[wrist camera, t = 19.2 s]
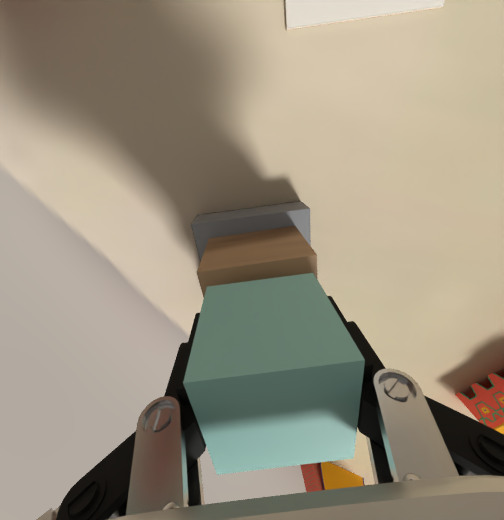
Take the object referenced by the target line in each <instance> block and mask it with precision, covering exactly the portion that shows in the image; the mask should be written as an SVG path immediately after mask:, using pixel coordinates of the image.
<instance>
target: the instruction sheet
mask: <svg viewBox="0 0 504 520" xmlns="http://www.w3.org/2000/svg"><path fill="white" fill-rule="evenodd" d="M443 6H444V0H285V9H286V30H289V29H296V28H303V27H310V26H317V25H324V24H331V23H338V22H345V21H352V20H359V19H366V18H373V17H380V16H386V15H393V14H400V13H407V12H414V11H421V10H428V9H435V8H441V7H443Z"/></svg>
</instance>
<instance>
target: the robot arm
mask: <svg viewBox="0 0 504 520" xmlns="http://www.w3.org/2000/svg"><path fill="white" fill-rule="evenodd" d="M327 297H328V299H329V300H330V302H331V304H332V305H333V307H334V309H335V310H336V312H337V314H338V315H339V317H340V319H341V320H342V322H343V324H344V326H345V327H346V329H347V331H348V332H349V334H350V336H351V337H352V339H353V341H354V342H355V344H356V346H357V348H358V349H359V351H360V353H361V354H362V356H363V358H364V359H365V364H364V373H363V382H362V390H361V399H360V407H359V416H358V425H357V427H358V429H359V431H360V432H361V433H362V434H364V435H365V436H366V438H367V443H368V449H369V454H370V460H371V465H372V470H373V476H374V481H375V484H374V485H365V486H356V487H348V488H339V489H330V490H322V491H313V492H305V493H296V494H288V495H280V496H271V497H263V498H254V499H247V500H238V501H230V502H222V503H214V504H206V505H205V504H204V494H203V484H202V475H201V464H200V456H201V454H203V452H204V451H205V448H206V443H205V440H204V438H203V435H202V432H201V430H200V427H199V424H198V422H197V419H196V416H195V414H194V411H193V408H192V406H191V403H190V400H189V397H188V395H187V392H186V389H185V387H184V384H183V381H184V377H185V373H186V369H187V365H188V361H189V357H190V353H191V349H192V345H193V341H194V337H195V333H196V329H197V325H198V321H199V316H200V313H196V315H195V319H194V323H193V326H192V330H191V334H190V337H189V341H188V342H187V343H182V344H181V345H180V347H179V350H178V354H177V357H176V360H175V363H174V367H173V370H172V373H171V376H170V379H169V383H168V386H167V389H166V393H165V396H164V397H160V398H158V399H156V400H154V401H152V402H151V403H150V404H149V405H147V406H146V408H145V409H144V410H143V411H142V413H141V415H140V417H139V419H138V423H137V429H136V432H134V433H133V434H132V435H131V436H130V437H128V438H127V439H126V440H125V441H124V442H123V443H121V444H120V445H119V446H118V447H117V448H116V449H115V450H113V451H112V452H111V453H110V454H109V455H108V456H106V458H104V459H103V460H102V461H101V462H100V463H98V464H97V465H96V466H95V467H94V468H93V469H92V470H90V471H89V472H88V473H87V474H86V475H85V476H84V477H82V478H81V479H80V480H79V481H78V482H77V483H76V484H75V485H74V486H73V487H72V488H71V489H70V491H69V492H68V493H67V495H66V496H65V498H64V499H63V501H62V503H61V505H60V506H59V507H58V508H57V509H56V510H53V509H52V508H51V509H50V510H48V511H47V512H46V513H44V514H43V515H42V516H41V517H39V518H38V519H37V520H504V435H503V434H501V433H500V432H498V431H496V430H494V429H492V428H490V427H488V426H486V425H484V424H482V423H480V422H478V421H476V420H474V419H472V418H470V417H468V416H465V415H463V414H461V413H459V412H457V411H455V410H453V409H451V408H449V407H447V406H445V405H443V404H441V403H439V402H436V401H434V400H432V399H430V398H428V397H426V396H424V395H423V392H422V390H421V388H420V386H419V385H418V383H417V382H416V381H415V380H414V379H413V378H412V377H410V376H409V375H407V374H406V373H404V372H401V371H399V370H395V369H386V368H385V367H384V365H383V364H382V362H381V361H380V359H379V358H378V356H377V355H376V353H375V352H374V350H373V349H372V347H371V346H370V344H369V343H368V341H367V340H366V338H365V337H364V335H363V334H362V332H361V331H360V329H359V328H358V326H357V325H356V323H355V322H353V321H351V322H347V321H346V319H345V318H344V316H343V315H342V313H341V311H340V310H339V308H338V306H337V305H336V303H335V302H334V300H333V298H332V297H331V296H327Z"/></svg>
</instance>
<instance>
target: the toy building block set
mask: <svg viewBox="0 0 504 520" xmlns="http://www.w3.org/2000/svg"><path fill="white" fill-rule="evenodd" d="M487 377H488V379H489V380H490V382H491V384H492V385H493V386H492V387H491V388H489V389H486V388H485V387H483V386H481V385H480V384H478V383H474V384H472V385H471V388H472V390H473V392H474V393H475V395H476V396H475V397H473V398H471V399H470V398H469V397H467V396H466V395H464V394H463V393H461V392H459V393H457V394H455V395H456V396H457V397H458V398H459V399H460V400H461V401H462V402H463V404H464V405H465V406H466V407H467V408H468V409H469V410H470V412H471V413H472V414H473V415H474V416H475V417H476V418H477V420H479V422H480V423H482V424H484V425H486V426H488V427H490V428H492V429H494V430H496V431H498V432H500V433H501V434H503V435H504V378H503V377H501V376H499V375H497V374H495V373H491V374H489V375H488V376H487ZM301 469H302V474H303V478H304V483H305V487H306V491H307V492H313V491H322V490H330V489H339V488H348V487H356V486H365V485H364V479H363V478H362V477H360V476H358V475H356V474H354V473H351V472H349V471H347V470H345V469H343V468H341V467H338V466H336V465H334V464H332V463H330V462H328V461H327V462H319V463H311V464H302V465H301Z"/></svg>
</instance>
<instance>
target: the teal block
mask: <svg viewBox="0 0 504 520" xmlns="http://www.w3.org/2000/svg"><path fill="white" fill-rule="evenodd" d="M364 364H365V359H364V358H363V356H362V354H361V353H360V351H359V349H358V348H357V346H356V344H355V342H354V341H353V339H352V337H351V336H350V334H349V332H348V331H347V329H346V327H345V326H344V324H343V322H342V320H341V319H340V317H339V315H338V314H337V312H336V310H335V309H334V307H333V305H332V304H331V302H330V300H329V299H328V297H327V295H326V293H325V292H324V290H323V288H322V287H321V285H320V283H319V282H318V280H317V278H316V277H315V275H314V273H308V274H300V275H292V276H285V277H277V278H269V279H262V280H254V281H246V282H239V283H231V284H223V285H216V286H208V287H207V288H206V292H205V296H204V300H203V304H202V308H201V312H200V316H199V321H198V325H197V329H196V333H195V337H194V341H193V345H192V349H191V353H190V357H189V361H188V365H187V369H186V373H185V377H184V381H183V384H184V387H185V389H186V392H187V395H188V397H189V400H190V403H191V406H192V408H193V411H194V414H195V416H196V419H197V422H198V424H199V427H200V430H201V432H202V435H203V438H204V440H205V443H206V446H207V448H208V451H209V454H210V457H211V459H212V462H213V465H214V467H215V470H216V473H217V474H218V475H219V474H227V473H236V472H244V471H252V470H260V469H269V468H277V467H285V466H294V465H302V464H311V463H319V462H327V461H336V460H344V459H352V458H354V450H355V442H356V433H357V425H358V416H359V407H360V399H361V390H362V382H363V373H364Z"/></svg>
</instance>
